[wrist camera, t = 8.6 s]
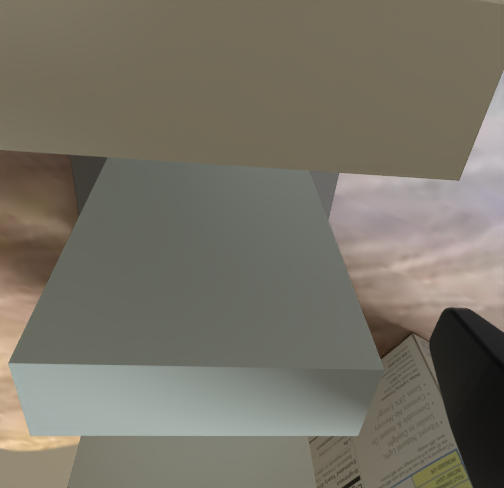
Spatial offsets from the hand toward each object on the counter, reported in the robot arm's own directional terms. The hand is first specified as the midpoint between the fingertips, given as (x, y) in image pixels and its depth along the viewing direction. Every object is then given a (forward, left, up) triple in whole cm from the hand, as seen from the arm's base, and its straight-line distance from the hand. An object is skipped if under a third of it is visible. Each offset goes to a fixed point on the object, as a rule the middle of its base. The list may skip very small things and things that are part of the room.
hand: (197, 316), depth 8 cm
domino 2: (0, -5, -8) cm, 9 cm away
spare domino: (0, 0, -8) cm, 8 cm away
